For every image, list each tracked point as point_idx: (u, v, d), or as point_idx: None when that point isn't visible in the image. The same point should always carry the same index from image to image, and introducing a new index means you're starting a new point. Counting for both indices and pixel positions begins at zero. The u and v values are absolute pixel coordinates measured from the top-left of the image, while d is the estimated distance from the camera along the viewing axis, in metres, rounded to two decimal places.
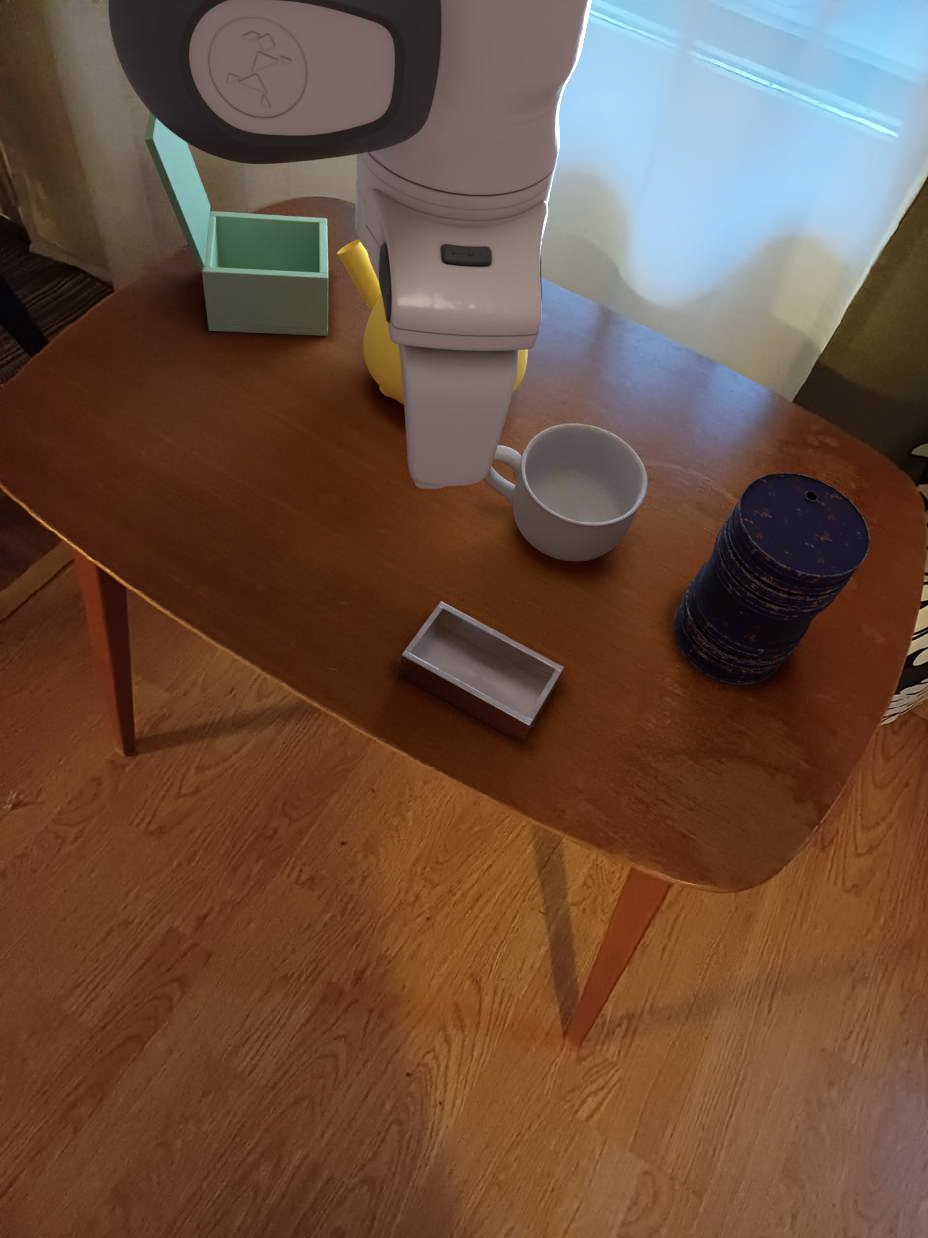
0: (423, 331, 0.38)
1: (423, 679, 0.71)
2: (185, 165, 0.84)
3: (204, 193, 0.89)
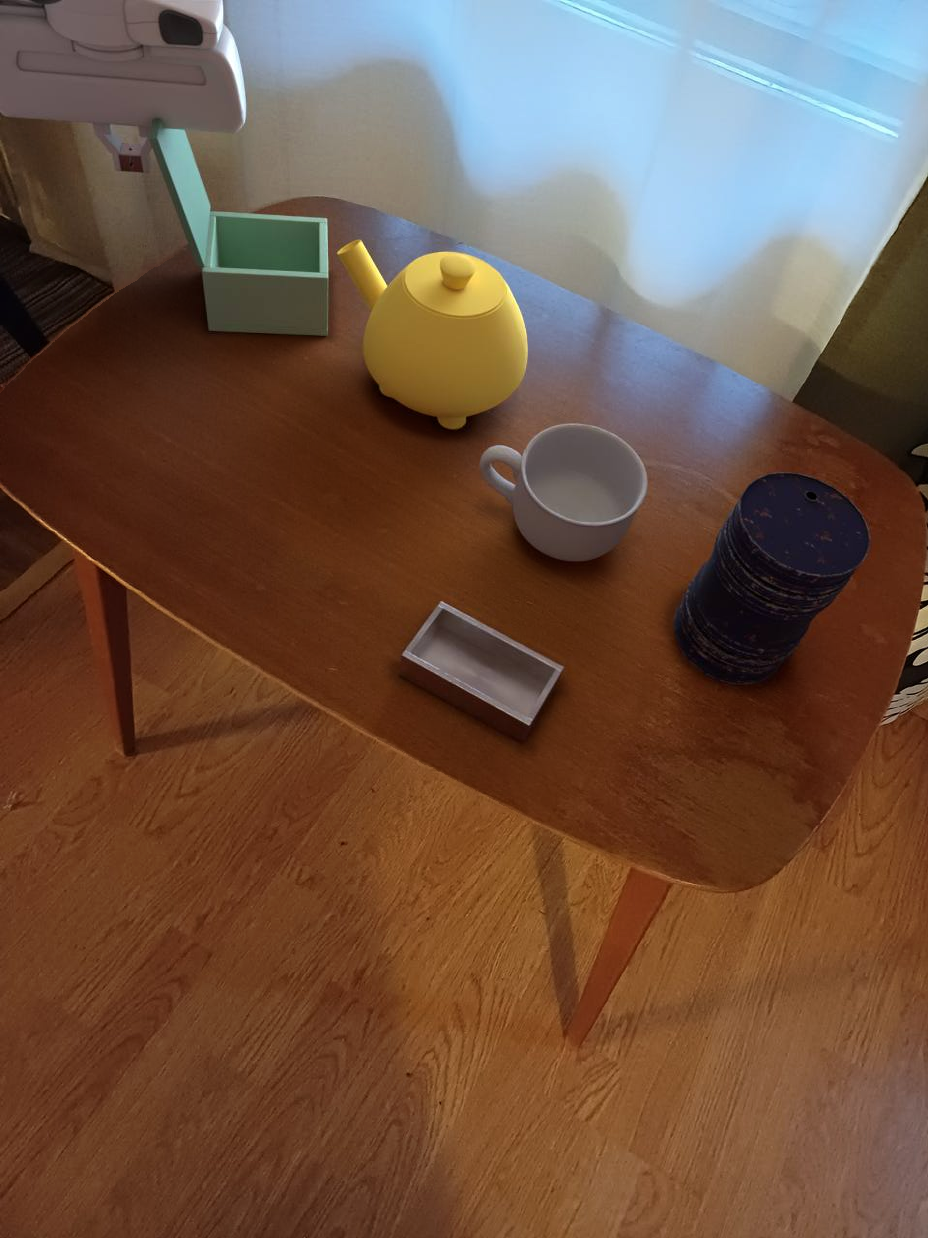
0: (220, 25, 0.71)
1: (423, 679, 0.71)
2: (187, 165, 0.84)
3: (205, 193, 0.89)
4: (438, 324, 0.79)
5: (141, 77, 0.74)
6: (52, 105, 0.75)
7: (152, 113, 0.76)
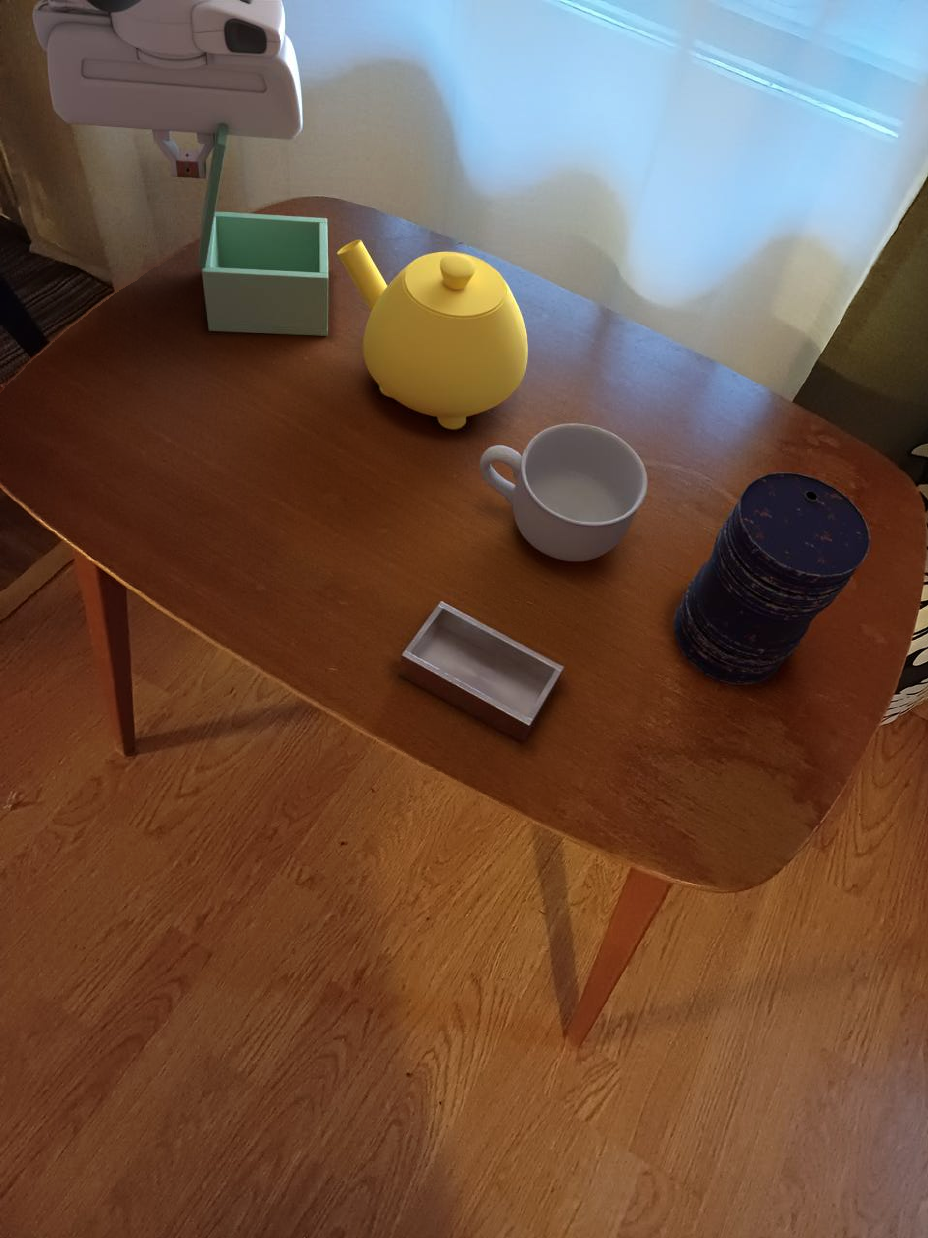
0: (283, 34, 0.72)
1: (423, 679, 0.71)
2: None
3: None
4: (438, 324, 0.79)
5: (202, 84, 0.75)
6: (114, 112, 0.76)
7: (212, 120, 0.77)
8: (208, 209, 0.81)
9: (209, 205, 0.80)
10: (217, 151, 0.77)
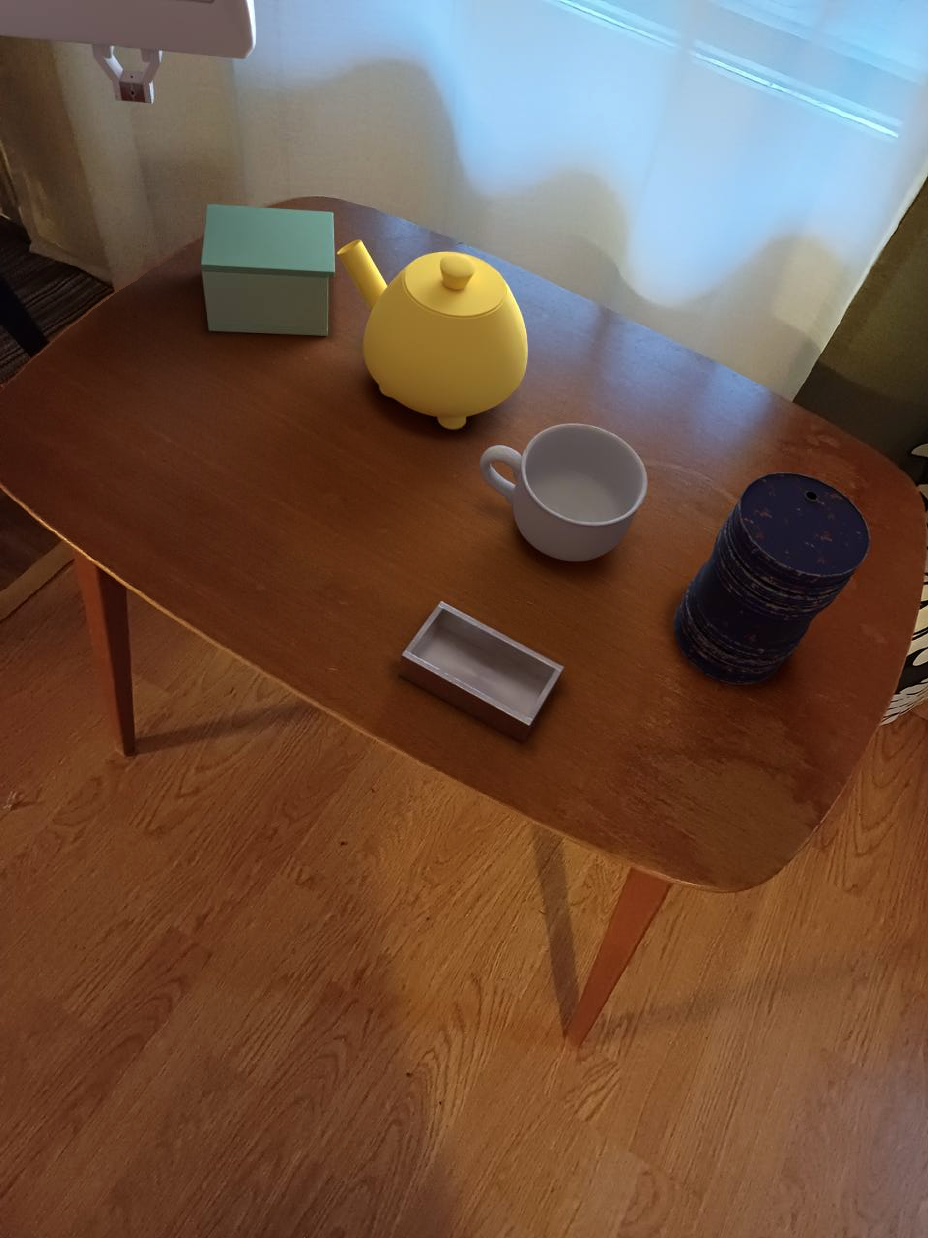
0: None
1: (423, 679, 0.71)
2: None
3: None
4: (438, 324, 0.79)
5: None
6: (49, 22, 0.70)
7: (156, 34, 0.72)
8: (267, 269, 0.86)
9: (272, 269, 0.86)
10: (326, 272, 0.87)
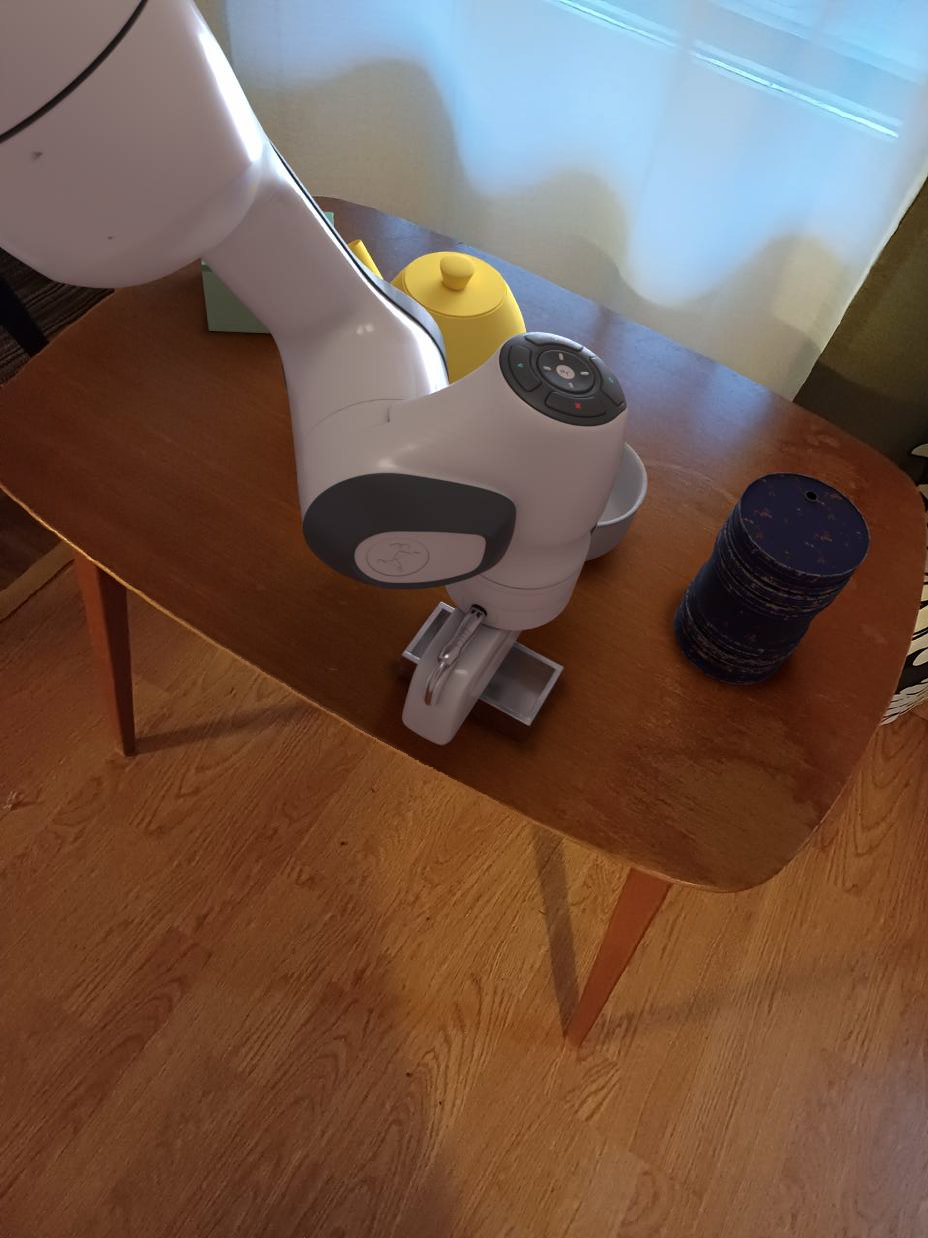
0: None
1: None
2: None
3: None
4: (438, 324, 0.79)
5: None
6: (481, 691, 0.63)
7: None
8: None
9: None
10: None
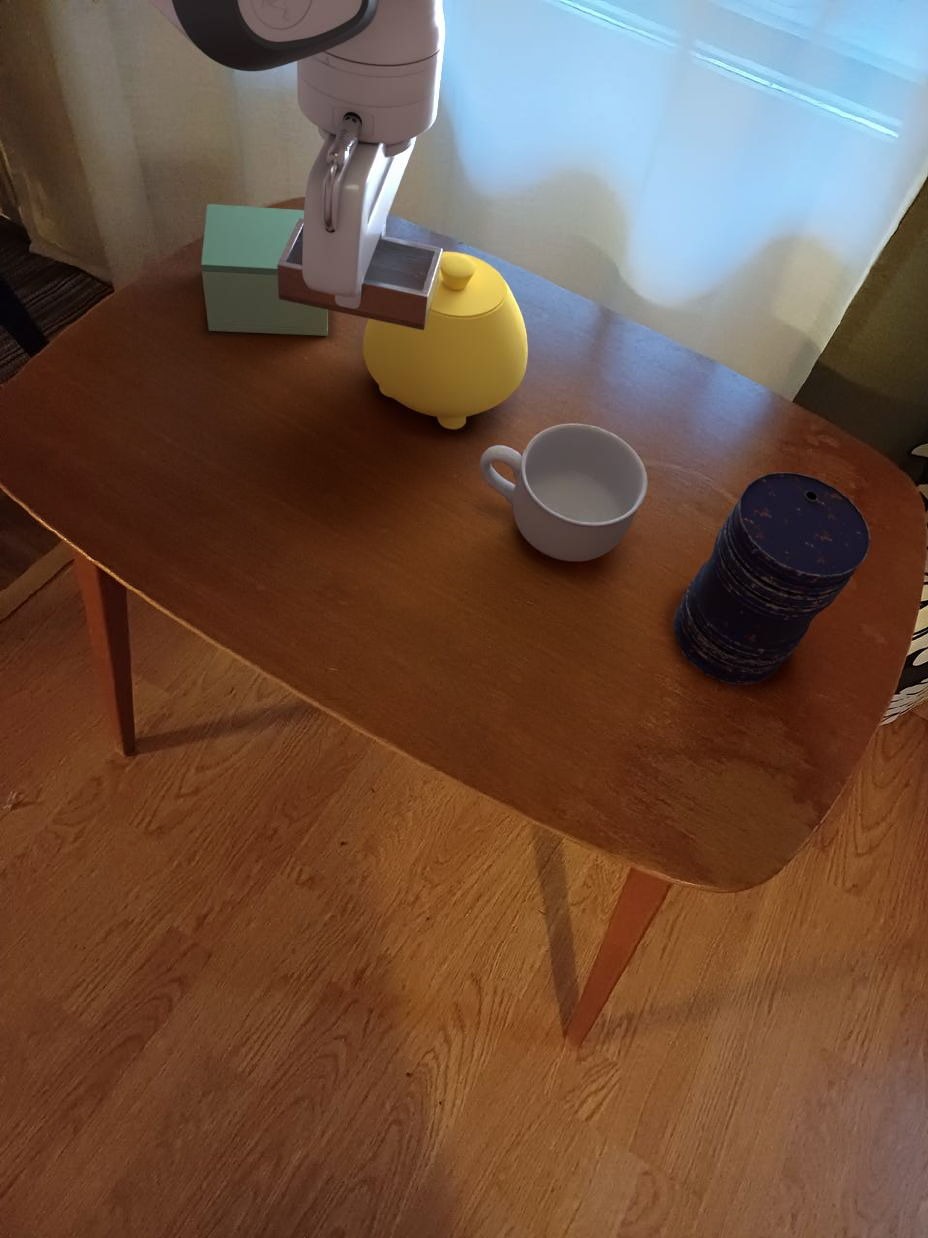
0: None
1: (306, 290, 0.67)
2: None
3: None
4: (438, 323, 0.79)
5: None
6: (373, 243, 0.61)
7: (397, 181, 0.66)
8: (267, 269, 0.86)
9: (272, 269, 0.86)
10: None
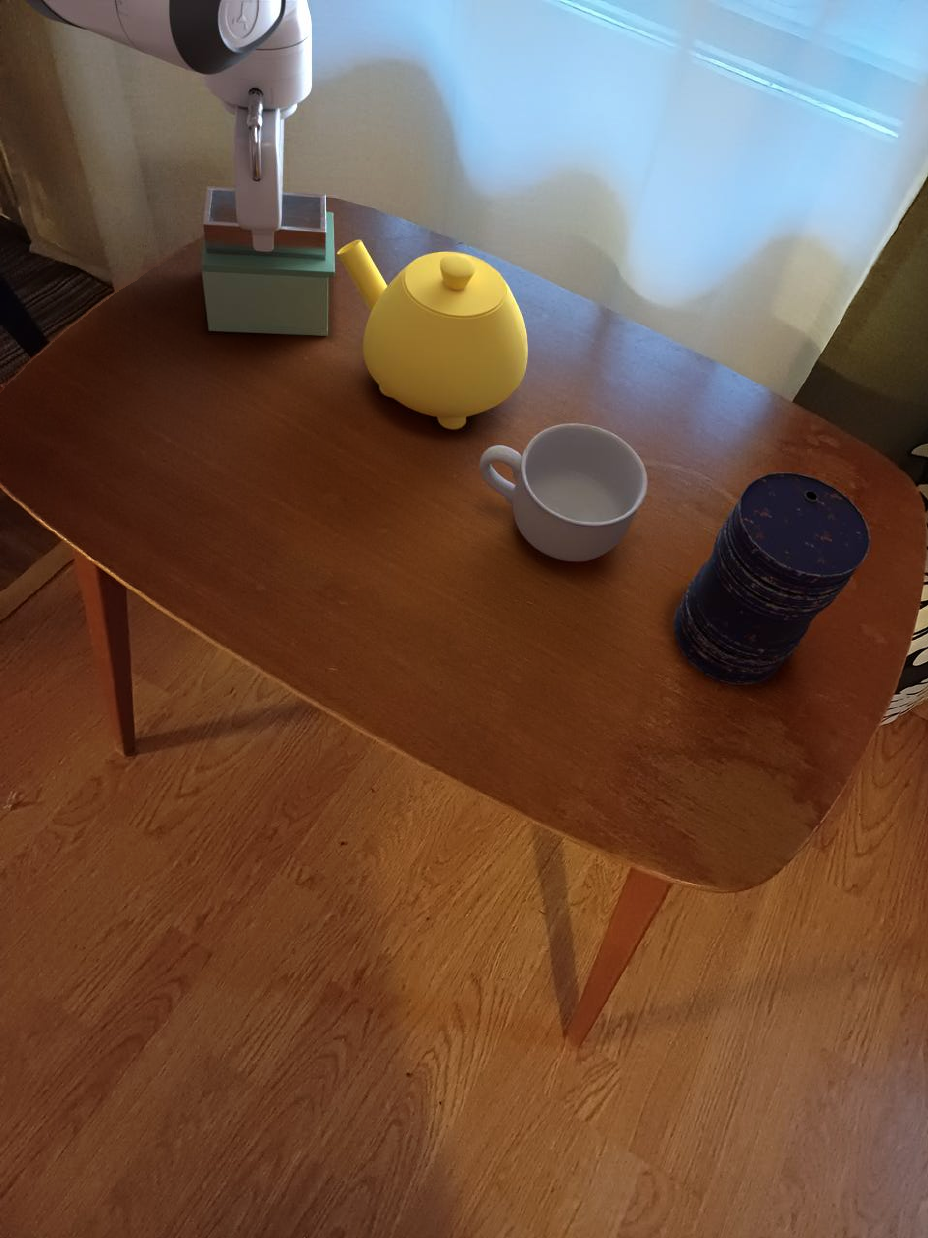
0: None
1: (228, 241, 0.85)
2: None
3: None
4: (438, 323, 0.79)
5: None
6: None
7: None
8: (267, 269, 0.86)
9: (272, 269, 0.86)
10: (326, 272, 0.87)
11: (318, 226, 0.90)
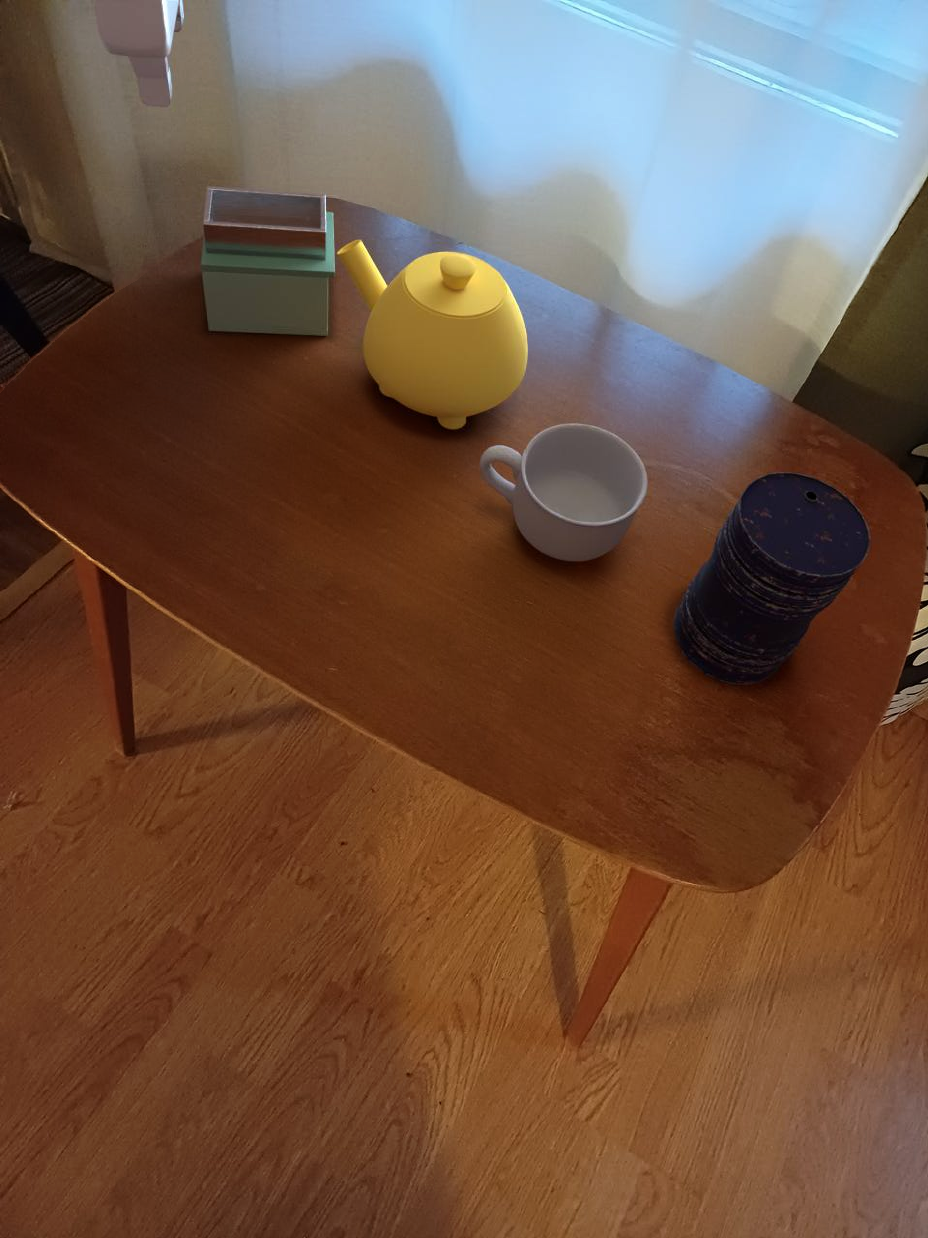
0: None
1: (228, 241, 0.85)
2: None
3: None
4: (438, 324, 0.79)
5: None
6: None
7: None
8: (267, 269, 0.86)
9: (272, 269, 0.86)
10: (326, 272, 0.87)
11: (318, 226, 0.90)
